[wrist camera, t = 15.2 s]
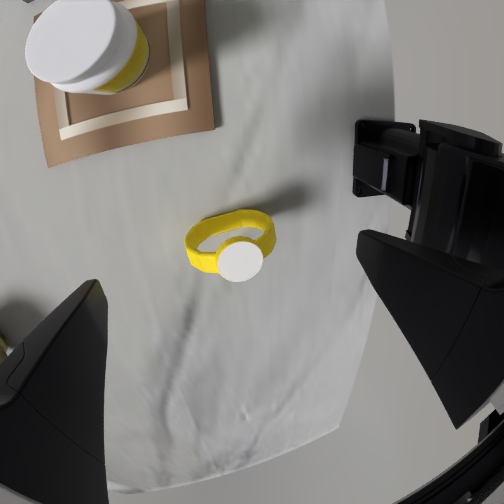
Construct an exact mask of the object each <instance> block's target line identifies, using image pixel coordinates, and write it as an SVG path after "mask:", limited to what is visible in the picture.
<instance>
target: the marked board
mask: <svg viewBox="0 0 504 504" xmlns="http://www.w3.org/2000/svg"><path fill="white" fill-rule="evenodd" d="M110 1H113V2H116V3H119V4H121V5H122V6H124V7H125V8H126V9H128V10H129V11H130V12H131V14H132V15H133V17H134V19H135V20H136V22H137V24H138V25H139V27H140V29H141V30H142V32H143V34H144V36H145V37H146V39H147V40H148V43H149V46H150V61H149V65H148V67H147V70H146V72H145V73H144V75H143V76H142V78H141V79H140V80H139V81H138V82H137V83H136V84H135V85H133V86H132V87H130V88H129V89H127V90H125V91H123V92H120V93H117V94H112V95H101V94H87V93H70V92H65V91H62V90H60V89H58V88H56V87H54V86H53V85H52V84H51V83H49V82H45V81H42V80H40V79H38V78H37V77H36V76H34V80H35V92H36V102H37V110H38V117H39V124H40V130H41V136H42V142H43V147H44V152H45V157H46V161H47V166H48V168H50V167H53V166H56V165H59V164H62V163H65V162H68V161H71V160H75V159H78V158H81V157H85V156H88V155H92V154H96V153H99V152H103V151H107V150H111V149H115V148H119V147H123V146H127V145H132V144H136V143H141V142H146V141H150V140H155V139H161V138H166V137H172V136H177V135H183V134H190V133H196V132H203V131H210V130H215V126H214V116H213V105H212V94H211V83H210V71H209V59H208V46H207V32H206V18H205V3H204V0H110ZM42 13H43V12H42ZM42 13H40V14H38V15H36V16H34V23H35V22H36V20H37V19H38V18H39V16H40V15H41V14H42Z"/></svg>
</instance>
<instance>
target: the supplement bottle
mask: <svg viewBox="0 0 504 504" xmlns="http://www.w3.org/2000/svg"><path fill="white" fill-rule="evenodd" d="M26 61H27V65H28V67H29V69H30V71H31V72H32V73H33V75H34V76H36V77H37V78H38V79H40V80H42V81H45V82H49V83H51V84H52V85H53V86H54V87H56V88H58V89H60V90H62V91H65V92H70V93H87V94H101V95H112V94H117V93H120V92H123V91H125V90H127V89H129V88H130V87H132V86H133V85H135V84H136V83H137V82H138V81H139V80H140V79H141V78H142V76H143V75H144V73H145V72H146V70H147V67H148V65H149V61H150V46H149V43H148V40H147V39H146V37H145V36H144V34H143V32H142V30H141V29H140V27H139V25H138V24H137V22H136V20H135V19H134V17H133V15H132V14H131V12H130V11H129V10H128V9H126V8H125V7H124V6H122V5H121V4H119V3H116V2H113V1H110V0H57V1H56V2H54V3H53V4H52V5H50V6H49V7H48V8H47V9H46V10H45V11H44V12H43V13H42V14H41V15H40V16H39V18H38V19H37V20H36V22H35V23H34V25H33V27H32V29H31V31H30V33H29V36H28V39H27V43H26Z"/></svg>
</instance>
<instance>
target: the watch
mask: <svg viewBox="0 0 504 504" xmlns="http://www.w3.org/2000/svg"><path fill="white" fill-rule="evenodd" d="M240 227H252V228H259V229H261V230H263V231H265V232H264V234H263V235H262V236H260V237H259V238H258V239H256V240H255V241H254V240H252V239H250V238H248V237H243V236H238V237H232V238H230V239H228V240H226V241H225V242H224V243H222V244H221V245H220V247H219V248H218V250H217V252H200V251H198V250H196V249H197V247H198V246H199V244H200V243H202V242H203V241H204V240H206V239H207V238H208V237H210V236H212V235H215V234H219V233H222V232H226V231H229V230H233V229H237V228H240ZM184 243H185V247H186V251H187V253H188V256H189V259H190V262H191V264H192V266H194V267H196V268H198V269H199V270H201V271H203V272H207V273H219V274H220V275H221V276H222V277H223V278H225V279H227V280H229V281H232V282H242V281H246V280H248V279H250V278H252V277H253V276H255V275H256V274H257V273H258V271H259V270H260V269H261V266H262V263H263V259H264V258H265V257H266V256H268V255H269V254H270V253H271V252H272V250H273V248H274V245H275V243H276V235H275V229H274V223H273V221H272V219H271V217H270V216H269V215H267V214H265V213H263V212H260V211H258V210H247V209H237V211H234V212H230V213H226V214H223V215H219V216H215V217H212V218H208V219H205V220H202V221H201V222H199V223H198V224H197V225H195V226H194V227H192V229H190V231H189V232H188V234H187V236H186V237H185V239H184Z"/></svg>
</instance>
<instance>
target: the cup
mask: <svg viewBox="0 0 504 504" xmlns="http://www.w3.org/2000/svg"><path fill="white" fill-rule="evenodd" d="M6 352H7V341H6V339H5V338H4V336H3V335H2V334H1V333H0V364H1V363H2V362H3V361H4V360H5V359H6V358H7V357H8V356H7V354H6Z"/></svg>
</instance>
